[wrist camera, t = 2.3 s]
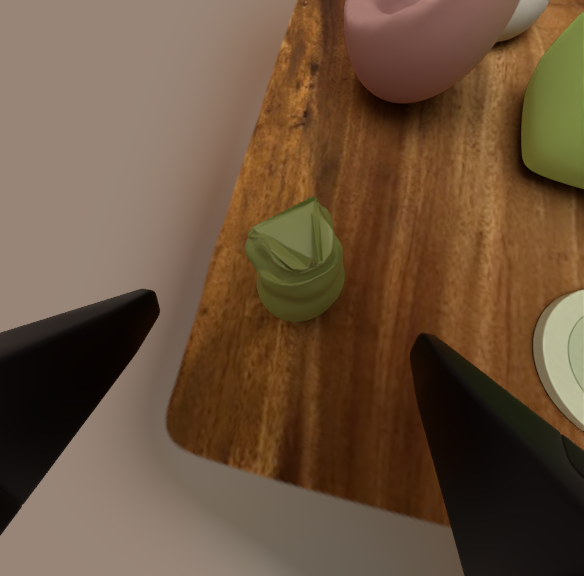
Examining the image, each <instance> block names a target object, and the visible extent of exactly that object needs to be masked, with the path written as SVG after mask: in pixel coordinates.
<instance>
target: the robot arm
mask: <svg viewBox="0 0 584 576" xmlns="http://www.w3.org/2000/svg"><path fill="white" fill-rule="evenodd" d="M159 313H160V308H159V304H158V300H157V296H156V293H155V292H154V291H152V290H146V289H139V290H136V291H133V292H130V293H126V294H123V295H120V296H117V297H113V298H110V299H107V300H104V301H101V302H97V303H94V304H91V305H88V306H84V307H81V308H78V309H75V310H72V311H68V312H65V313H62V314H59V315H56V316H52V317H49V318H46V319H43V320H40V321H37V322H33V323H30V324H27V325H23V326H20V327H17V328H14V329H11V330H8V331H4V332H1V333H0V535H1V534H2V533H3V531H4V530H5V529H6V527H7V526H8V525H9V523H10V522H11V521H12V519H13V518H14V517H15V515H16V514H17V513H18V511H19V510H20V509H21V507H22V505H23V504H24V503H25V502H26V500H27V499H28V498H29V496H30V495H31V493H32V492H33V491H34V489H35V488H36V487H37V485H38V484H39V483H40V481H41V480H42V479H43V477H44V476H45V475H46V473H47V472H48V471H49V469H50V468H51V467H52V465H53V464H54V463H55V461H56V460H57V459H58V457H59V456H60V455H61V453H62V452H63V451H64V449H65V448H66V447H67V445H68V444H69V443H70V441H71V440H72V438H73V437H74V436H75V435H76V433H77V432H78V431H79V429H80V428H81V427H82V425H83V424H84V423H85V421H86V420H87V418H88V417H89V416H90V414H91V413H92V412H93V411H94V409H95V408H96V407H97V405H98V404H99V402H100V401H101V399H103V397H104V396H105V394H106V393H107V392H108V390H109V389H110V388H111V386H112V385H113V384H114V382H115V381H116V379H117V378H118V377H119V376H120V374H121V373H122V372H123V370H124V369H125V368H126V366H127V365H128V364H129V362H130V361H131V360H132V358H133V357H134V356H135V354H136V353H137V351H138V350H139V348H140V346H141V345H142V343H143V341H144V340H145V338H146V336H147V335H148V333H149V331H150V330H151V328H152V326H153V325H154V323H155V321H156V320H157V318H158V316H159ZM410 361H411V368H412V374H413V380H414V387H415V393H416V399H417V404H418V408H419V412H420V415H421V419H422V422H423V426H424V430H425V433H426V437H427V441H428V444H429V448H430V452H431V455H432V459H433V463H434V466H435V470H436V473H437V477H438V481H439V484H440V488H441V492H442V495H443V499H444V503H445V506H446V510H447V514H448V517H449V521H450V524H451V528H452V531H453V535H454V539H455V542H456V546H457V550H458V553H459V557H460V561H461V565H462V568H463V572H464V575H465V576H584V450H582V449H581V448H580V447H578V446H577V445H576V444H575V443H573V442H572V441H571V440H570V439H568V438H567V437H566V436H564V435H561V434H560V432H559V431H558V430H557V429H555V428H554V427H553V426H551V425H550V424H549V423H547V422H546V421H545V420H544V419H542V418H541V417H540V416H538V415H537V414H536V413H535V412H533V411H532V410H531V409H529V408H528V407H527V406H526V405H524V404H523V403H522V402H520V401H519V400H518V399H517V398H515V397H514V396H513V395H511V394H510V393H509V392H508V391H506V390H505V389H504V388H502V387H501V386H500V385H498V384H497V383H496V382H495V381H493V380H492V379H491V378H489V377H488V376H487V375H486V374H484V373H483V372H482V371H480V370H479V369H478V368H477V367H475V366H474V365H473V364H471V363H470V362H469V361H468V360H466V359H465V358H464V357H462V356H461V355H460V354H459V353H457V352H456V351H455V350H453V349H452V348H451V347H450V346H448V345H447V344H446V343H444V342H443V341H442V340H440V339H439V338H438V337H437V336H435V335H433V334H426V333H421V334H419V335H418V337H417V339H416V341H415V343H414V345H413V347H412V349H411V352H410Z"/></svg>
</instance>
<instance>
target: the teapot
mask: <svg viewBox="0 0 584 576" xmlns="http://www.w3.org/2000/svg"><path fill="white" fill-rule="evenodd" d="M521 149H522V158H523V162H524V164H525V165H526V166H527V168H529V169H530V170H531V171H533V172H535V173H537V174H539V175H541V176H544V177H547V178H549V179H552V180H555V181H558V182H561V183H564V184H568V185H571V186H574V187H578V188H581V189H584V11H583V12H582V13H581V14H580V15H579V16H578V17H577V18H576V19H575V20H574V21H573V22H572V23H571V24H570V25H569V26H568V27H567V29H566V30H565V31H564V32H563V33H562V34H561V35H560V36H559V37H558V38H557V39H556V41H555V42H554V43H553V44H552V45H551V46H550V48H549V49H548V50H547V51H546V52H545V54H544V55H543V57H542V58H541V60H540V61H539V63H538V65H537V67H536V69H535V71H534V73H533V75H532V77H531V79H530V81H529V84H528V86H527V88H526V92H525V97H524V104H523V112H522V125H521Z"/></svg>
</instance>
